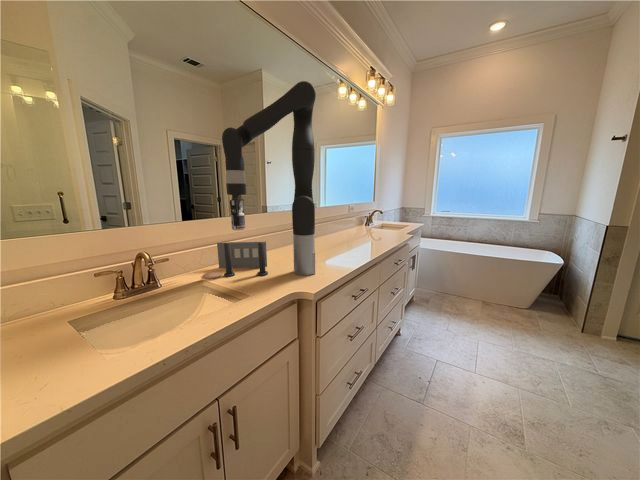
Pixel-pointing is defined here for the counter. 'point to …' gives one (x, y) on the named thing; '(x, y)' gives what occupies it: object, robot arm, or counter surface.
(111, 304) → the counter surface
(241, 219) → the pill bottle
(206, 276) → the coaster
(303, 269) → the robot arm
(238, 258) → the panel
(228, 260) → the post
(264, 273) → the post
